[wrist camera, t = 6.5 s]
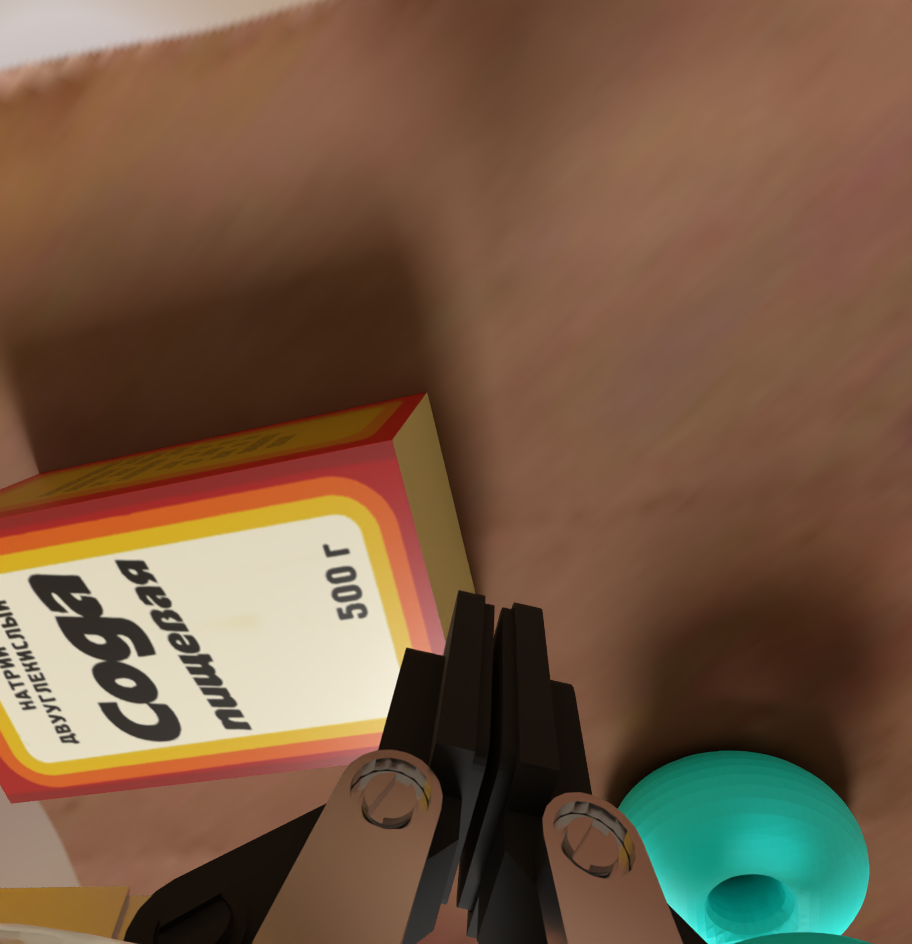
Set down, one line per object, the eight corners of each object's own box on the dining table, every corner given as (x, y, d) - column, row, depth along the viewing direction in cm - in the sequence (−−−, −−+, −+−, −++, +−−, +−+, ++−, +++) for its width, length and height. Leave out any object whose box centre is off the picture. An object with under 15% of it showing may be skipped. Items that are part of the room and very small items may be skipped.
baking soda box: (427, 391, 20) (32, 475, 22) (392, 439, 14) (-149, 547, 16) (482, 624, 23) (125, 676, 25) (474, 750, 17) (1, 804, 19)
